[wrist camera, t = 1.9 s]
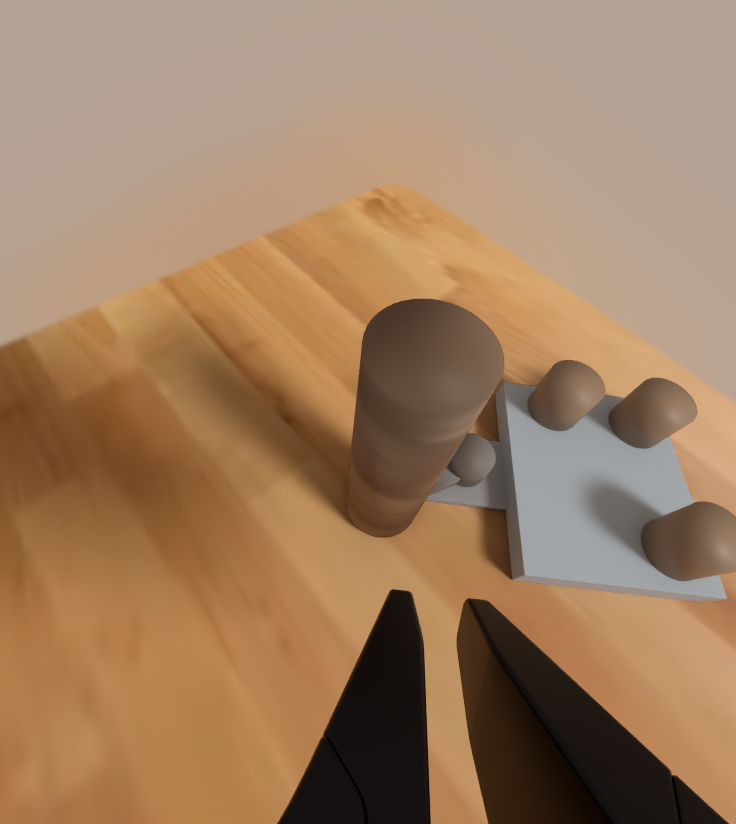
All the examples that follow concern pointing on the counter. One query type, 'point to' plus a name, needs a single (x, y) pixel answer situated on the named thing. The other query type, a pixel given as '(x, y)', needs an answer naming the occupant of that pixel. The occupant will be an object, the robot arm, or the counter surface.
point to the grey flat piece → (601, 489)
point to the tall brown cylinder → (419, 410)
